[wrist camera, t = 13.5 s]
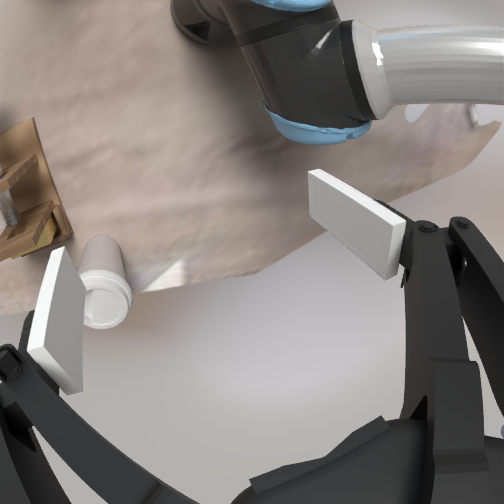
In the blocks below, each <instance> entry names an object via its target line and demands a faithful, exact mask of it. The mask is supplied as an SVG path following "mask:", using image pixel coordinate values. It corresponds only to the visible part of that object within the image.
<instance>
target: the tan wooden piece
mask: <svg viewBox="0 0 504 504" xmlns="http://www.w3.org/2000/svg"><path fill="white" fill-rule="evenodd" d="M57 226H58V222H57V220H56V218H55V215H54V213H53V210H52V212H51V214H50V217H49V219H48V221H47V223H46V225H45V227H44V229H43V232H42V234H41V236H40V238H39V241H38V243H37V245H36V247H33V248H31V249H29V250H26V251H24V252H21V253H19V254H17V255H14V256H12V257H11V258H12V259H15V258H17V257H19V256H22V255H24V254H26V253H29V252H31V251H34V250H36V249H39V248H41V247H44V246H46V245H49V244H51V242H52V239H53V236H54V233H55V231H56V228H57Z"/></svg>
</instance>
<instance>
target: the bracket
mask: <svg viewBox="0 0 504 504" xmlns="http://www.w3.org/2000/svg"><path fill="white" fill-rule="evenodd" d="M0 165H1V167H2V170H3V173H4V176H3V177H2V178H1V179H0V194H1V193H3V192H5V191H7V190H9V189H10V192H11V194H12V197H13V199H14V202H15V204H16V207H17V209H18V211H19V214H20V216H21V220H20V221H19V222H18V223H17V224H15V225H13V226H11V227H8V226H6V228H5V230H4V231H3V233H2V234H1V236H0V262H1V261H3V260H5V259H7V258H10V257H12V256H14V255H17V254H19V253H21V252H24V251H26V250H29V249H31V248H33V247H36V245H37V243H38V241H39V238H40V236H41V234H42V232H43V229H44V227H45V225H46V223H47V221H48V219H49V217H50V214H51V212H52V210H53V213H54V215H55V218H56V220H57V222H58V226H57V228H56V231H55V233H54V236H53V239H52V242H51V244H49V245H46V246H44V247H41V248H39V249H36V250H34V251H31V252H29V253H26V254H24V255H22V257H23V256H26V255H28V254H31V253H33V252H35V251H38V250H40V249H43V248H45V247H48V246H50V245H53V244H56V243H58V242H61V241H63V240H66V239H69V238H70V234H71V233H72V228H71V225H70V223H69V221H68V218H67V216H66V213H65V211H64V208H63V206H62V203H61V201H60V198H59V195H58V193H57V190H56V187H55V185H54V182H53V179H52V176H51V173H50V170H49V167H48V164H47V161H46V158H45V155H44V152H43V149H42V146H41V142H40V139H39V136H38V132H37V128H36V125H35V121H34V117H33V118H31V119H29V120H27V121H25V122H23V123H21V124H19V125H17V126H15V127H13V128H11V129H9V130H7V131H5V132H3V133H1V134H0Z"/></svg>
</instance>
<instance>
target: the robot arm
mask: <svg viewBox="0 0 504 504" xmlns="http://www.w3.org/2000/svg"><path fill="white" fill-rule="evenodd" d="M171 12H172V16H173V18H174V21H175V23H176V24H177V26H178V27H179V28H180V30H181V31H182V32H183V33H184V34H186V35H187V36H188V37H190V38H191V39H193V40H195V41H197V42H199V43H202V44H205V45H210V46H230V45H234V44H239V48H240V50H241V52H242V54H243V56H244V58H245V60H246V63H247V65H248V67H249V69H250V71H251V74H252V76H253V78H254V80H255V82H256V85H257V87H258V89H259V91H260V94H261V96H262V98H263V105H264V107H265V109H266V110H267V112H268V113H269V114H270V116H271V118H272V120H273V122H274V124H275V126H276V128H277V130H278V131H279V132H280V133H281V134H283V135H284V136H285V137H286V138H288V139H290V140H292V141H295V142H298V143H303V144H310V145H330V144H337V143H342V142H345V141H346V139H356V138H358V137H360V136H362V135H363V134H365V133H366V132H367V131H368V130H369V128H370V126H371V123H372V120H381V119H384V117H385V116H386V115H387V114H388V112H389V111H390V110H391V108H392V107H394V106H395V105H402V104H427V103H471V104H494V105H504V27H496V26H481V25H424V26H409V27H397V28H387V29H375V28H373V27H371V26H369V25H368V24H366V23H364V22H363V21H361V20H359V19H354V20H349V21H341V20H340V18H339V15H338V12H337V10H336V8H335V5H334V2H333V0H171ZM308 191H309V215H310V217H312V218H313V219H314V220H315V221H316V222H318V223H319V224H320V225H321V226H322V227H324V228H325V229H326V230H327V231H328V232H330V233H331V234H332V235H333V236H334V237H335V238H337V239H338V240H339V241H340V242H341V243H343V244H344V245H345V246H346V247H347V248H348V249H350V250H351V251H352V252H353V253H354V254H355V255H356V256H358V257H359V258H360V259H361V260H362V261H363V262H364V263H365V264H367V265H368V266H369V267H370V268H371V269H372V270H373V271H374V272H376V273H377V274H378V275H379V276H380V277H381V278H382V279H383V280H387V279H389V278H391V277H393V276H395V275H397V272H398V267H399V263H400V264H401V265H402V266H403V267H404V268H405V269H404V274H403V278H402V283H401V288H403V285H404V292H405V315H406V316H405V317H406V368H405V391H404V403H403V408H402V411H401V414H400V418H399V419H394V420H389V421H385V420H384V419H383V417H382V416H379V417H378V418H376V419H375V420H373V421H371V422H369V423H368V424H366V425H364V426H363V427H361V428H359V429H357V430H356V431H354V432H352V433H351V434H350V435H349V436H348V437H347V438H346V439H345V440H344V441H342V442H341V443H340V444H339V445H338V446H337V447H336V448H335V449H333V450H332V451H331V452H330V453H329V454H328V455H326V456H325V457H323V458H319V459H315V460H310V461H306V462H301V463H296V464H291V465H285V466H282V467H280V468H277V469H275V470H272V471H270V472H268V473H265V474H262V475H259V476H257V477H254V478H251V479H249V480H250V482H251V486H250V487H248V488H247V489H245V490H244V491H243V492H241V493H240V494H239V495H238V496H237V497H236V498H235V499H234V500H233V501H232V503H231V504H504V439H501V438H495V437H490V436H485V435H484V416H483V400H482V390H481V389H482V388H481V378H480V370H479V366H478V363H477V362H476V361H470V360H469V357H468V349H467V342H466V335H465V329H464V323H463V318H464V321H465V323H466V325H467V327H468V330H469V332H470V334H471V336H472V339H473V341H474V344H475V346H476V348H477V351H478V353H479V356H480V359H481V361H482V364H483V366H484V369H485V372H486V375H487V377H488V380H489V383H490V386H491V389H492V392H493V394H494V397H495V400H496V402H497V405H498V407H499V409H500V411H501V413H502V415H503V417H504V262H503V261H502V259H501V258H500V257H499V255H498V254H497V253H496V251H495V250H494V249H493V247H492V246H491V245H490V243H489V242H488V241H487V240H486V238H485V237H484V236H483V234H482V233H481V232H480V231H479V230H478V228H477V227H476V226H475V225H474V224H473V223H472V222H471V221H470V220H468V219H467V218H463V217H452V218H451V219H450V223H449V227H446V228H439V227H438V226H437V225H436V224H434V223H432V222H429V221H425V220H421V221H420V220H419V221H416V222H414V221H412V220H411V219H409V218H408V217H406V216H405V215H403V214H402V213H400V212H398V211H396V210H395V209H394V208H392V207H390V206H389V205H387V204H386V203H384V202H382V201H379V200H376V199H371V198H369V197H368V196H366V195H364V194H363V193H361V192H359V191H358V190H356V189H354V188H353V187H351V186H349V185H347V184H346V183H344V182H342V181H340V180H339V179H337V178H335V177H333V176H332V175H330V174H328V173H326V172H324V171H323V170H321V169H316V170H312V171H308ZM465 261H466V262H467V266H466V265H465ZM85 295H86V288H85V286H84V284H83V282H82V280H81V278H80V276H79V274H78V272H77V270H76V268H75V266H74V264H73V262H72V260H71V258H70V256H69V254H68V252H67V250H66V248H65V246H63V247H61V248H58V249H56V250H53V251H52V252H51V255H50V259H49V262H48V265H47V268H46V272H45V275H44V278H43V282H42V285H41V289H40V293H39V297H38V301H37V305H36V309H35V310H33V311H30V312H29V314H28V316H27V317H26V319H25V321H24V325H23V331H22V333H21V338H20V343H19V348H18V351H17V350H16V349H15V347H14V346H13V345H11V344H4V345H2V346H0V380H1V381H2V383H1V384H0V504H71V502H70V501H69V499H68V497H67V496H66V494H65V492H64V490H63V489H62V487H61V485H60V484H59V482H58V480H57V478H56V476H55V475H54V473H53V471H52V469H51V467H50V465H49V463H48V461H47V459H46V457H45V455H44V453H43V451H42V449H41V447H40V444H39V442H38V440H37V438H36V436H35V433H34V431H33V429H32V426H35V427H36V429H37V430H38V431H39V432H40V434H41V435H42V436H43V437H44V439H45V440H46V441H47V442H48V443H49V444H50V445H51V447H52V448H53V449H54V450H55V451H56V452H57V454H58V455H59V456H60V457H61V458H62V459H63V460H64V461H65V462H66V463H67V465H68V466H69V467H70V468H71V469H72V470H73V471H74V472H75V473H76V474H77V475H78V476H79V477H80V478H81V479H82V480H83V481H84V482H85V483H86V484H87V485H88V486H89V487H90V488H91V489H93V490H94V491H95V492H96V493H97V494H98V495H99V496H100V497H101V498H103V499H104V500H105V501H106V502H107V503H108V504H199V503H198V502H196V501H194V500H192V499H190V498H189V497H187V496H185V495H183V494H182V493H180V492H179V491H177V490H175V489H174V488H172V487H171V486H169V485H168V484H166V483H164V482H163V481H161V480H160V479H158V478H157V477H155V476H154V475H152V474H151V473H149V472H148V471H147V470H145V469H144V468H142V467H141V466H140V465H138V464H137V463H136V462H134V461H133V460H132V459H130V458H129V457H127V456H126V455H125V454H124V453H122V452H121V451H120V450H119V449H117V448H116V447H115V446H114V445H112V444H111V443H110V442H109V441H107V440H106V439H105V438H104V437H102V435H100V434H99V433H98V432H97V431H96V430H95V429H93V428H92V427H91V426H90V425H89V424H88V423H87V422H86V421H84V419H82V418H81V417H80V416H79V415H78V414H77V413H76V412H75V411H74V410H73V409H72V408H71V407H70V406H69V405H68V404H67V403H66V402H65V401H64V400H63V399H62V398H61V397H60V396H59V387H60V388H61V389H62V391H63V392H64V393H65V394H66V395H70V394H75V393H79V392H82V391H83V385H82V384H83V379H82V353H83V324H84V308H85ZM462 316H463V318H462ZM501 435H502V436H503V438H504V425H503V426H502V428H501Z"/></svg>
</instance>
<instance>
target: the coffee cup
mask: <svg viewBox="0 0 504 504" xmlns="http://www.w3.org/2000/svg"><path fill="white" fill-rule="evenodd" d="M77 272H78V274H79V276H80V278H81V280H82V282H83V284H84V286H85V288H86V295H85V308H84V324H85V325H87V326H89V327H92V328H96V329H107V328H112V327H114V326H116V325H118V324H119V323H121V322H122V321H123V320H124V318H125V317H126V315H127V314H128V313H129V311H130V309H131V305H132V300H133V295H132V291H131V288H130V286H129V285H128V283H127V282H126V278H125V273H124V268H123V263H122V258H121V252H120V247H119V245H118V243H117V242H116V241H115V240H114V239H113V238H111V237H109V236H105V235H99V236H95V237H93V238H91V239H90V240H89V241H88V242H87V244H86V246H85V249H84V252H83V255H82V258H81V261H80V265H79V268H78V271H77Z"/></svg>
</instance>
